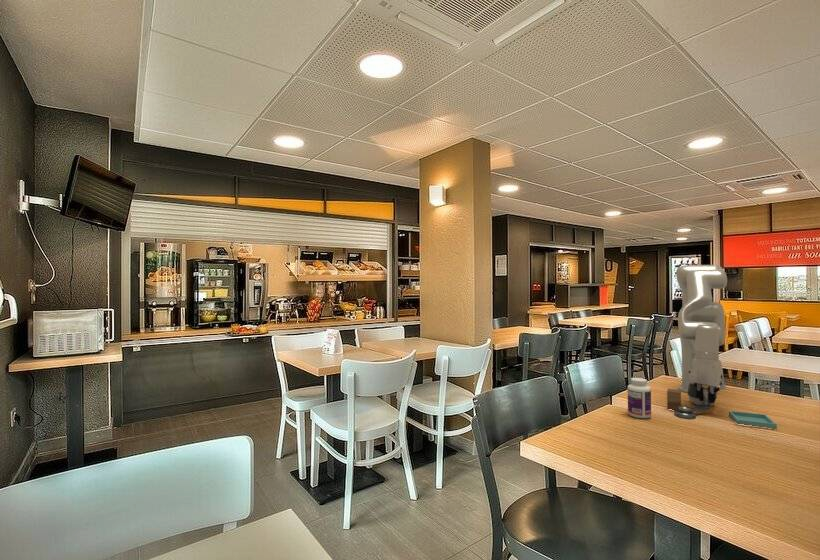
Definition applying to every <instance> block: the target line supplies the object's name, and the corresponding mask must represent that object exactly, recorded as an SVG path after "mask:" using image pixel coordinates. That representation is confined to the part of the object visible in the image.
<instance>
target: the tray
mask: <svg viewBox="0 0 820 560" xmlns="http://www.w3.org/2000/svg"><path fill="white" fill-rule="evenodd" d="M729 416H730V417H731V418H732V419H733V420H734V421H735V422H736V423H737V424H744V425H752V426H759V427H767V428H772V429H778V424H777V423H776V422H775V421H773V419H772V418H770V417H769V416H768V415H767V414H764V413H755V412H746V411H736V410H728V417H729ZM730 417H729V418H730ZM731 418H730V419H731ZM732 419H731V420H732ZM733 420H732V421H733ZM734 421H733V422H734Z"/></svg>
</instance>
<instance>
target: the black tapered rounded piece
mask: <svg viewBox="0 0 820 560" xmlns="http://www.w3.org/2000/svg"><path fill="white" fill-rule="evenodd" d="M690 372H691V371H689V373H690ZM686 394H687V395H688V398H689V401H690V402H691V403H692V404H694V405H695V406H700V405H703V401H699V397H698V390H697V388H696V387H695V386H694V385H693V384H691V383H690V382H689V385H688V392H686ZM717 394H718V392H717V393H716V400H717V398H718V395H717ZM715 403H716V401H715V402H714V403H712V404H711V406H713V405H714V404H715Z"/></svg>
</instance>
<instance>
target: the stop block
mask: <svg viewBox="0 0 820 560" xmlns="http://www.w3.org/2000/svg"><path fill="white" fill-rule="evenodd" d="M666 395H667V396H666V399H667V401H666V403H667V404H666V406H667V408H666V409H672V410H677V409H679V405H682V391H681V390H679V389H675V388H667V390H666Z"/></svg>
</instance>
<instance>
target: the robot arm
mask: <svg viewBox="0 0 820 560" xmlns="http://www.w3.org/2000/svg"><path fill="white" fill-rule="evenodd" d="M675 272H676V273H675V276H676V281H677V283H678V285H679V289H680V290H681V297H682V301H681V302H682V306H681V308H680V309H679V313H678V315H677V324H678V325H677V326H678V327H677V328H678V334H679V339H680V346H681V348H680V349H681V385H678V386H677V390H681V392H683V393H687V392H688V385H689V382H690V383H691V384H693V385H694V386H695V387H696V388H697V390H698V397H699V401H703V387H702V385H707V386H710V393H709V403H710V404H712V403H714V402H715V403H716V402H717V399H716V393H717V394H718V392H719V391H724V390H726V389H727V386H726V384H725V382H724V370H723V365H722V361H721V359H720V358H719V357H720V355H719V354H720V353H719V352H720V351H719V350H720V346H723V345H724V344H725V340H726V329H725V328H726V326H725V325H726V324H725V323H726V322H725V309H724V307H723V305H722V304H721V303H719V302H717V301H716V302H715V301H713V294H712V290H720V289H721V290H722V289H725V288H726V287H727V284H728V276H727V274H726V271H725V270H724V268H723V267H722V266H720V265H719V264H688V265H687V264H685V265H682V266H681V265H680V266H679V267H677V269H676V271H675ZM689 371H691V372H690V373H689ZM715 403H714V404H715Z"/></svg>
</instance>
